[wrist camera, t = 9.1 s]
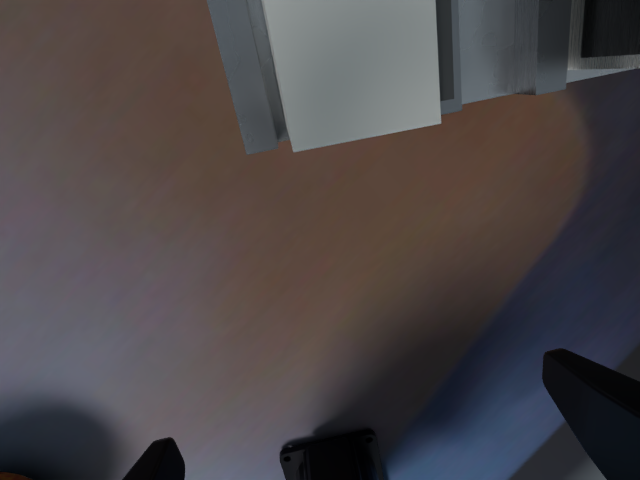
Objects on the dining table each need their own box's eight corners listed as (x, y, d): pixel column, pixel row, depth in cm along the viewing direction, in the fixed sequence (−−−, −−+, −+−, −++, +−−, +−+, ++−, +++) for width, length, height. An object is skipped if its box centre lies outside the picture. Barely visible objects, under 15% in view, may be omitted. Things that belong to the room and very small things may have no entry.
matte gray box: (257, -19, 14) (247, -82, 8) (384, -42, 14) (456, -118, 8) (286, 125, 16) (293, 152, 10) (397, 104, 16) (462, 118, 10)
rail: (660, 55, 19) (932, 40, 11) (251, 139, 18) (236, 185, 10) (683, -100, 16) (1051, -258, 9) (215, -10, 16) (159, -93, 8)
